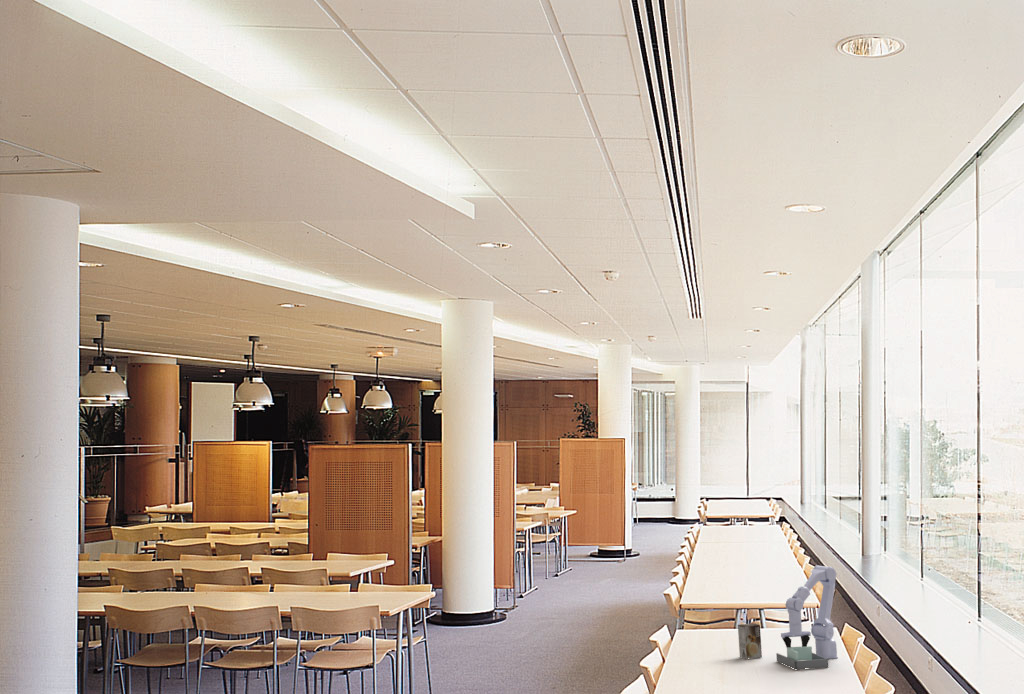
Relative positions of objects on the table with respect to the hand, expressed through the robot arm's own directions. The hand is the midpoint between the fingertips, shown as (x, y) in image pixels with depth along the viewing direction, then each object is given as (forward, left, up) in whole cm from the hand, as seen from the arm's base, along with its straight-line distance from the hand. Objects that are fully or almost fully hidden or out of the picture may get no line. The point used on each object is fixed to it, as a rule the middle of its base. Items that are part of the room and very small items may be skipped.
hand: (796, 652), depth 507 cm
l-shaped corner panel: (0, +7, -5) cm, 9 cm away
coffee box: (+16, -18, -5) cm, 25 cm away
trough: (0, +5, -5) cm, 7 cm away
